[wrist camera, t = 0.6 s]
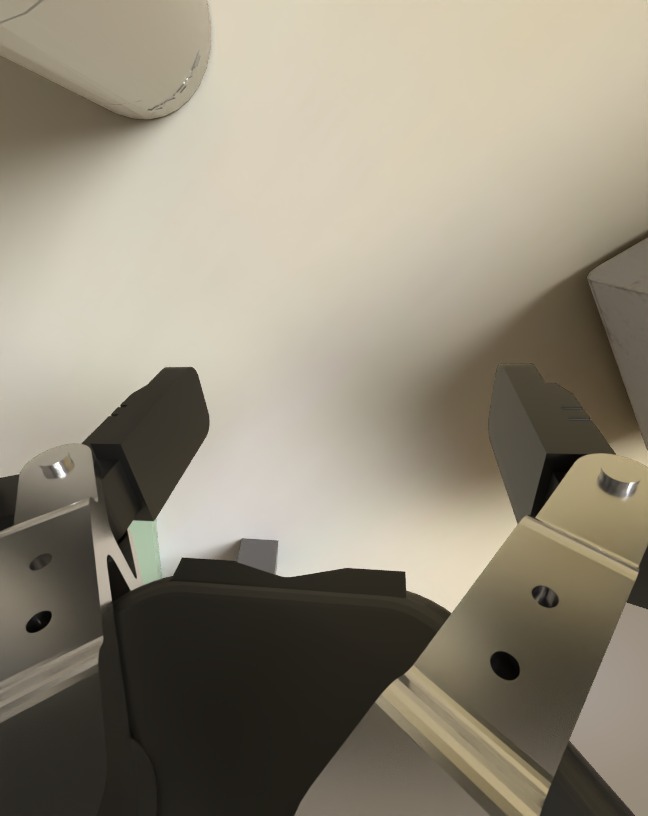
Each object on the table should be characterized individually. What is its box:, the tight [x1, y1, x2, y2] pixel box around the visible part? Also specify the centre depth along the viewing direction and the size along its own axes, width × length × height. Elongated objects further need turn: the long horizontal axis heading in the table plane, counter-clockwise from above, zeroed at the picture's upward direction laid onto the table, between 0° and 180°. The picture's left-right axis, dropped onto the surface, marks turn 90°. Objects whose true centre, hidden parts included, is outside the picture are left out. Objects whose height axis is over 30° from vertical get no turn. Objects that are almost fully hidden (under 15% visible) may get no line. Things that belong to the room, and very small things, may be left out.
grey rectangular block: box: [237, 539, 278, 575], centre depth 36 cm, size 4×4×10 cm
